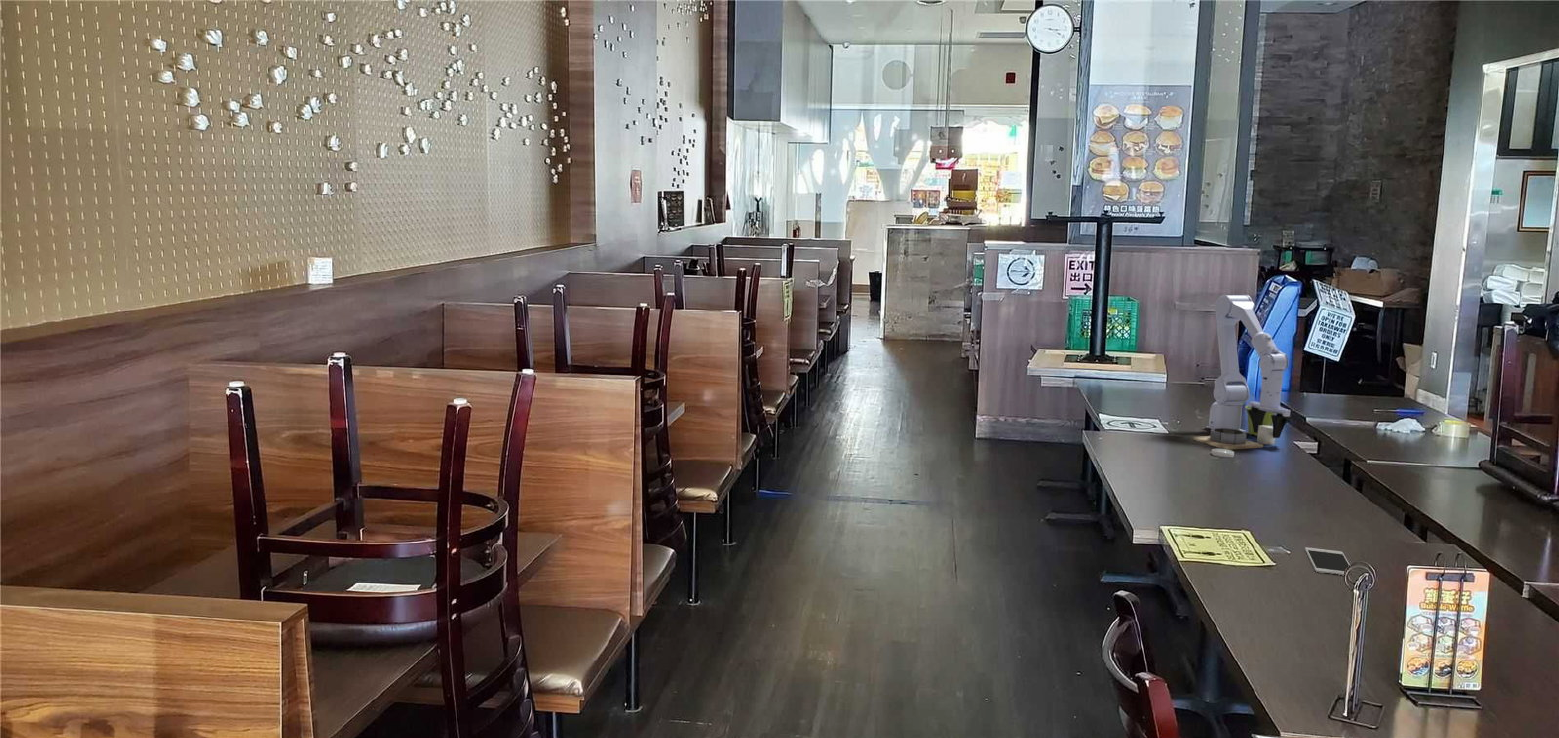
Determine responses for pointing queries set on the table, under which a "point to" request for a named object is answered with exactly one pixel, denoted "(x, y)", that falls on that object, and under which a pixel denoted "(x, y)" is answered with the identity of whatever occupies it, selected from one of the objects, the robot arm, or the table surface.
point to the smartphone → (1327, 560)
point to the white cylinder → (1265, 435)
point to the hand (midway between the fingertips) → (1266, 435)
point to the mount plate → (1228, 446)
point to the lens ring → (1228, 436)
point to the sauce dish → (1223, 453)
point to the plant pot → (1266, 421)
